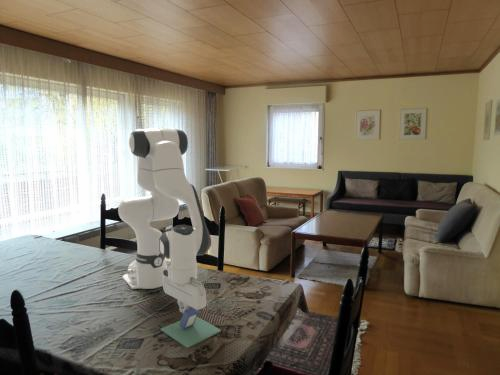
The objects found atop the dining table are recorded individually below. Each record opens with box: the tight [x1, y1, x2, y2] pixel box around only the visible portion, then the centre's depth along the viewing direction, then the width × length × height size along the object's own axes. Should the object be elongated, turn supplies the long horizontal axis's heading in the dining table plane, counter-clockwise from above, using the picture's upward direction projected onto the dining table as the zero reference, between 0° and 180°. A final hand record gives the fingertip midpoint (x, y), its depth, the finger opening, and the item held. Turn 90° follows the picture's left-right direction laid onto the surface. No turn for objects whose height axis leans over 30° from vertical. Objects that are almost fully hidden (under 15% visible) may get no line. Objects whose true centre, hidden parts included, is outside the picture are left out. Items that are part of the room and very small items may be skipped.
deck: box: [180, 307, 199, 330], centre depth 122 cm, size 4×2×7 cm, turn 136°
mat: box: [159, 316, 222, 349], centre depth 122 cm, size 15×14×1 cm
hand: (184, 312), depth 124 cm, fingers closed
